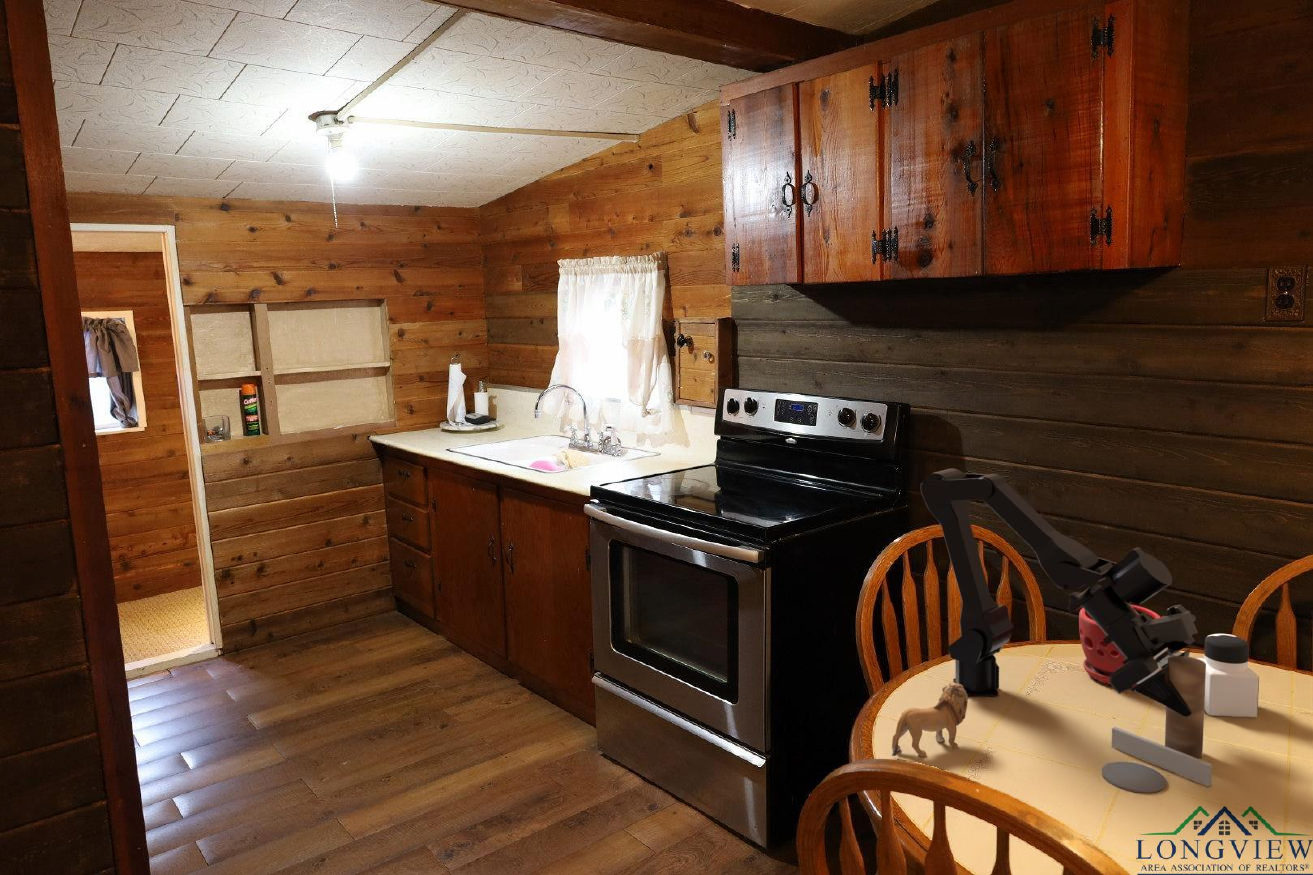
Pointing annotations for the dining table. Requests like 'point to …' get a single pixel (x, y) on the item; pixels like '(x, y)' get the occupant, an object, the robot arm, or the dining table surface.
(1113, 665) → the plant pot
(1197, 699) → the pepper mill
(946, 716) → the lion figurine
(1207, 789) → the dining table surface
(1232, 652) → the medicine bottle
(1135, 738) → the low wall
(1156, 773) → the resting pad
